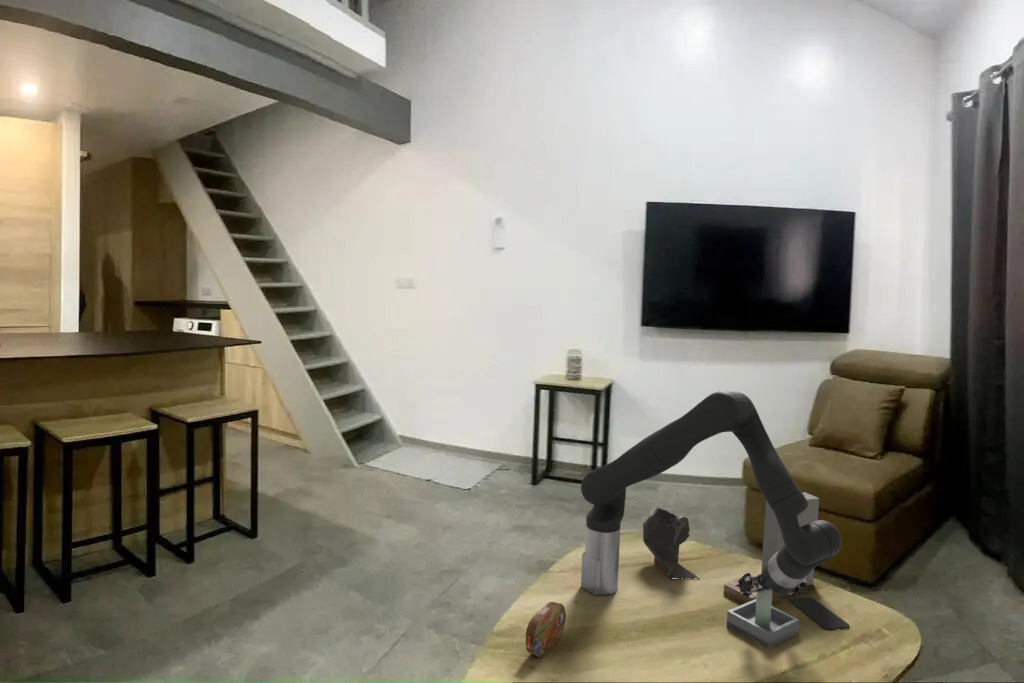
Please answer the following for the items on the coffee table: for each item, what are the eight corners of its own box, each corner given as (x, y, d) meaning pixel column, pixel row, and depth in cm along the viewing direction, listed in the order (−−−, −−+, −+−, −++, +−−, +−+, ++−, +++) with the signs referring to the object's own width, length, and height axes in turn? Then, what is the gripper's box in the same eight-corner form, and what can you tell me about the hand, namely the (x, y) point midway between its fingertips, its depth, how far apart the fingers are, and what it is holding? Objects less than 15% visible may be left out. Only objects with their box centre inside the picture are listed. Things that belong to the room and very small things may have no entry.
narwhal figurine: (681, 555, 189) (684, 498, 188) (700, 579, 174) (703, 517, 173) (636, 555, 189) (638, 498, 187) (650, 579, 173) (653, 517, 172)
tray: (769, 648, 141) (769, 633, 141) (726, 624, 151) (727, 610, 151) (798, 633, 148) (799, 619, 147) (755, 611, 157) (756, 598, 157)
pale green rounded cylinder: (764, 630, 147) (766, 590, 146) (751, 623, 150) (753, 584, 149) (773, 626, 149) (775, 586, 148) (760, 619, 152) (762, 580, 151)
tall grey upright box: (797, 574, 178) (803, 491, 176) (813, 584, 173) (820, 498, 170) (758, 581, 174) (763, 495, 172) (773, 591, 168) (779, 502, 166)
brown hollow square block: (751, 607, 159) (752, 598, 159) (723, 593, 167) (724, 584, 166) (771, 598, 164) (772, 589, 164) (743, 585, 171) (744, 576, 171)
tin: (534, 664, 134) (535, 627, 133) (522, 659, 135) (523, 622, 134) (566, 632, 146) (567, 598, 145) (554, 627, 148) (555, 594, 147)
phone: (811, 596, 165) (851, 626, 151) (810, 599, 165) (851, 629, 151) (786, 598, 164) (825, 628, 149) (786, 601, 164) (825, 632, 149)
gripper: (813, 555, 139) (788, 579, 152) (749, 552, 140) (730, 577, 152) (822, 589, 134) (796, 611, 147) (757, 586, 135) (736, 608, 147)
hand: (762, 593), depth 150 cm, fingers open, 8 cm apart
